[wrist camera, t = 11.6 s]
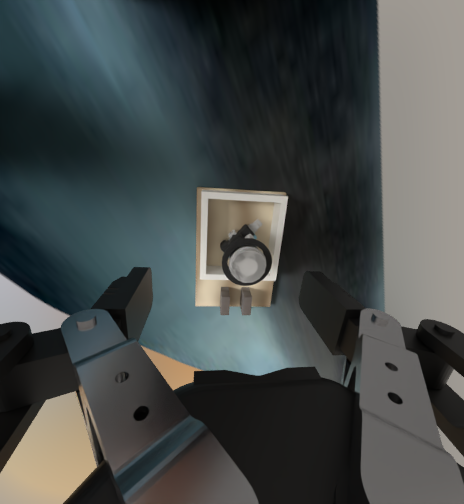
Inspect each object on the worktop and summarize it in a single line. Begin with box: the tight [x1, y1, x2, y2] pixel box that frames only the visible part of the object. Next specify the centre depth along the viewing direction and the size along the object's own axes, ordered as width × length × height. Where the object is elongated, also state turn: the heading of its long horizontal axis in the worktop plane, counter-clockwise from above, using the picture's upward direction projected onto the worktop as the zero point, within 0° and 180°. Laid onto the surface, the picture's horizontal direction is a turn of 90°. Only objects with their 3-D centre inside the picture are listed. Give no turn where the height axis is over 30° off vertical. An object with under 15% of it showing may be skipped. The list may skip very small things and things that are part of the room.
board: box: [196, 187, 286, 315], centre depth 32 cm, size 12×18×4 cm, turn 176°
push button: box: [220, 219, 272, 286], centre depth 27 cm, size 7×5×10 cm
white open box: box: [200, 189, 288, 281], centre depth 30 cm, size 11×12×3 cm
